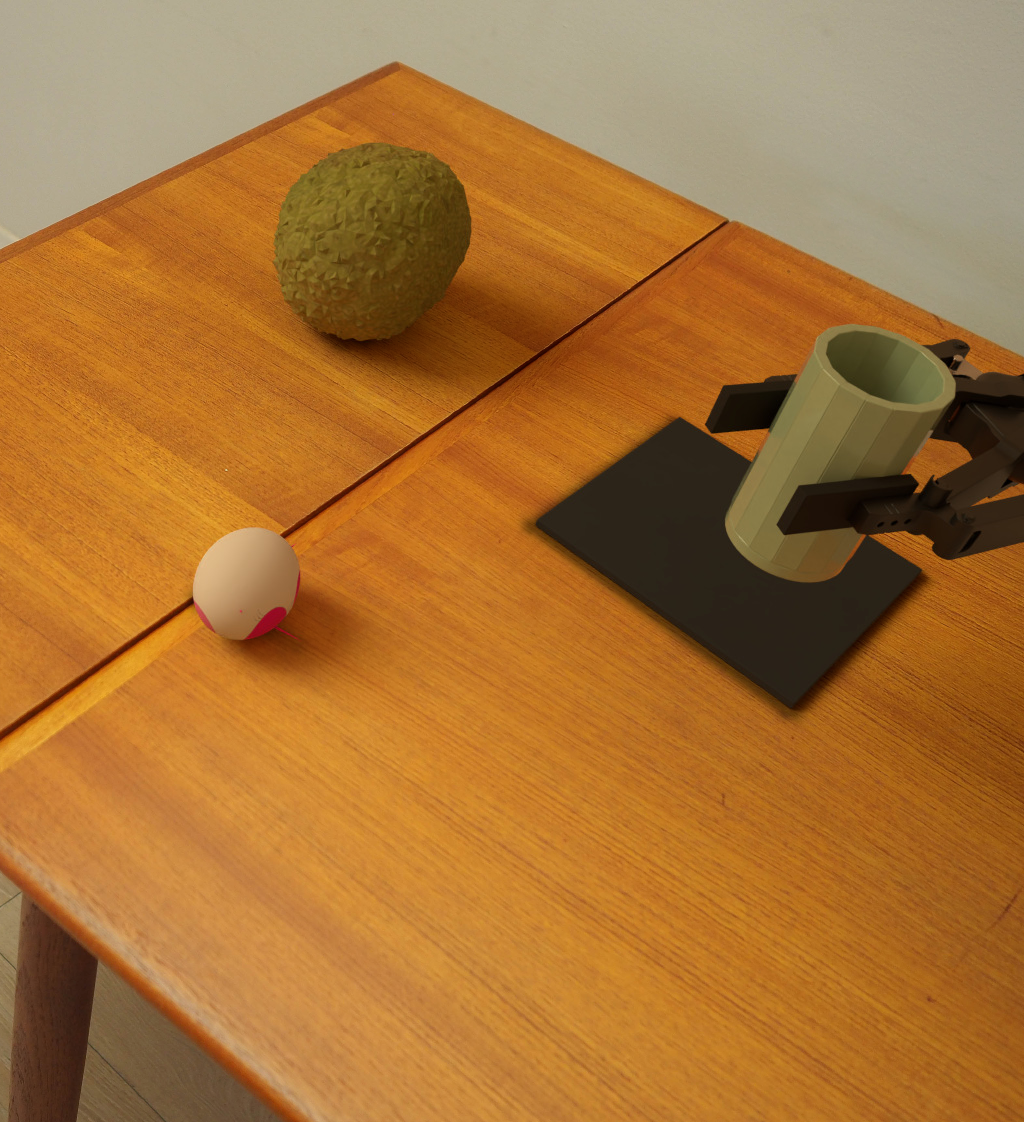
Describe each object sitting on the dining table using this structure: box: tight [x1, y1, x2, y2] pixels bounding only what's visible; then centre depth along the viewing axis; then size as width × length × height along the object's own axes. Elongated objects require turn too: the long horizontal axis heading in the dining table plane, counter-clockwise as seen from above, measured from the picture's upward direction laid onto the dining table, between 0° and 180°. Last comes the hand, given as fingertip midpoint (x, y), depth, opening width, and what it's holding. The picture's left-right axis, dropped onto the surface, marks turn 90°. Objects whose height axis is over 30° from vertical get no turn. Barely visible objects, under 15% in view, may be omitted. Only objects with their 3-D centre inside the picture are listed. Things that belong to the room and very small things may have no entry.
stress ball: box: [192, 526, 302, 642], centre depth 76 cm, size 8×8×7 cm
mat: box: [534, 416, 923, 709], centre depth 87 cm, size 20×18×1 cm
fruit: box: [271, 142, 473, 342], centre depth 96 cm, size 16×14×15 cm
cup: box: [725, 323, 956, 583], centre depth 66 cm, size 7×7×12 cm
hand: (753, 458), depth 65 cm, fingers closed on cup, 7 cm apart
